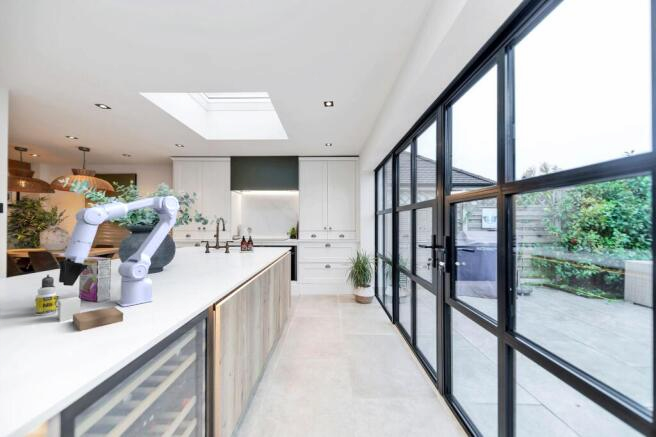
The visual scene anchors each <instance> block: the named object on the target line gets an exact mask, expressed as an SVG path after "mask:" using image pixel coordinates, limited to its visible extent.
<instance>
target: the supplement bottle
mask: <svg viewBox="0 0 656 437" xmlns="http://www.w3.org/2000/svg"><path fill="white" fill-rule="evenodd" d="M40 288H41V287H40ZM40 288H39V289H38V290H37V295H36V296H35V299H36V301H35V307H34V308H35V312H34V314H35V316H38V317H39V316H42V317H43V316H48V315H52V314H54V313H56V312H57V308H56V306H57V302H56V296H58V295H57V293H56V286H55V287H46V288H41V289H40Z"/></svg>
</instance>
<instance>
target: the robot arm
mask: <svg viewBox="0 0 656 437" xmlns="http://www.w3.org/2000/svg"><path fill="white" fill-rule="evenodd" d="M146 208H149V209H152V210H154V212H155V213H156V214H157V216H158V222H157V224H156V225H155V226H154V228H152V231H151V232H149V234H148V236H147V237H146V238H145V240H144V242H143V243H141V245H140V247H139V248H138V249H137V250H136V252H135V253H133V254H132V255H130V256H129V257H128V258H127V260H125V261H123V262H122V263H120V265H119V267H118V270H117V273H118V274H119V276H120V277H121V279H120V300H118V301H116V303H117V304H118V305H119V306H121V307H123V308H127V307H130V306H135V305H140V304H145V303H150V302H153V282H152V279H151V277H146V276H147V275H148V273H149V268H150V266H151V264H152V262H151V258H152V257H153V255H154V254H155V253H156V251H157V250H158V248H159V247H160V246H161V244H162V242H163V241H164V240H165V238H166V237H167V235H168V234H169V232H170V231H171V229H172V228H173V227H174V226H175V224H176V222H177V216H178V211H179V209H180V204H179V200H178V199H177V198H176V197H175V196H172V195H168V196H156V197H155V196H154V197H153V196H152V197H146V198H142V199H138V200H133V201H130V202H126V203H123V202H121V201H117V200H110V201H109V203H105V204H94V205H93V207H83V208H81V209H80V210H79V211H78V212H76V213H75V219H76V223H75V225H74V228H73V230H72V233H71V235H70V238H69V241H68V244H67V245H66V249H65V251H64V253H62V252H61V253H60V252H59V253H58V256H59V257H65V260H61V259H59V260H58V264H59V277H58V282H59V283H63V284H62V285H63V286H66V287H67V286H69V287H70V286H71V287H73V286H74V284H75V283H76V282H77V281H78V279H79V278H80V276H79V275H80V274H81V273H82V272H83V270H84V269H86V268H87V267H88V265H85V264H82V263H83V262H84V260H85V259H88V257H89V254H90V251H91V248H92V245H93V243H94V240H95V237H96V235H97V231H98V228H99V225H101V224H102V223H103V222H107V221H111V220H115V219H118V218H119V219H120V218H122V217H123V218H124V217H125V216H126V215H127V214H128V213H129V212H133V211H138V210H142V209H146Z"/></svg>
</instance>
